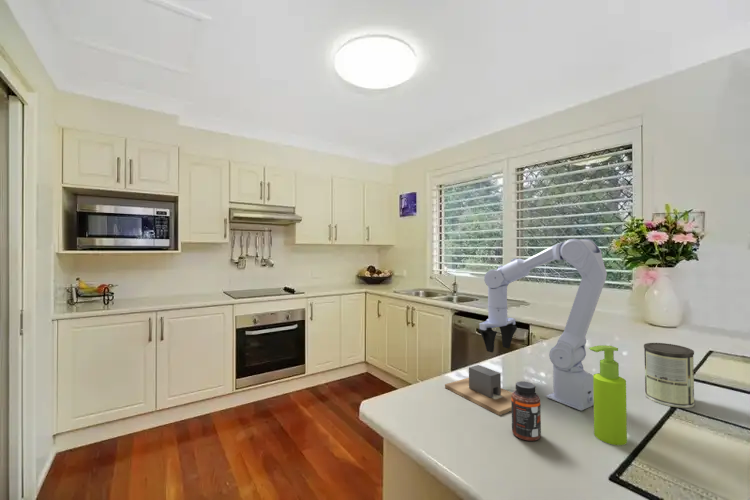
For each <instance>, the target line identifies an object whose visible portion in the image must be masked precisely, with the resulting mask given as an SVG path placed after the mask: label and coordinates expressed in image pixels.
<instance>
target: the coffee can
mask: <svg viewBox="0 0 750 500" xmlns="http://www.w3.org/2000/svg"><path fill="white" fill-rule="evenodd" d="M643 349H644V386H645V387H644V389H645V390H644V395H645V397H646V398H648V399H649V401H652V402H655V403H657V404H659V405H660V404H661V405H663V406H668V407H673V408H679V409H681V408H682V409H691V408H693V407H695V404H696V403H695V381H694V379H695V377H694V375H695V374H694V371H695V370H694V369H695V368H694V364H695V363H694V355H695V351H694V350H693V349H691V348H689V347H687V346H683V345H678V344H673V343H666V342H665V343H663V342H647V343H644V344H643Z"/></svg>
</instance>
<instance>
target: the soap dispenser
mask: <svg viewBox="0 0 750 500" xmlns="http://www.w3.org/2000/svg"><path fill="white" fill-rule="evenodd" d="M588 350H590V351H592V352H595V353H598V352H599V353H600V352H603V353H604V354H603V355H604V356H603V359H600V360H599V372H598V373H594V374H592V375H593V390H594V405H593V434H594V436H595V438H597V439H598V440H599V441H602V442H603V443H605V444H608V445H613V446H625V445H626V444H627V443H628V429H627V427H628V424H627V423H628V421H627V420H628V419H627V417H628V416H627V381H626V379H625V378H623V377H622V376H620V374H619V373H620V370H619V369H620V368H619V362H618V361H616V360H615V356H614V355H615V353H614V352H615V351H616V352H618V351H619V347H615V346H614V345H606V344H604V345H601V344H600V345H595V346H591V347H589V348H588Z"/></svg>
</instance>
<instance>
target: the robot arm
mask: <svg viewBox="0 0 750 500" xmlns="http://www.w3.org/2000/svg"><path fill="white" fill-rule="evenodd" d="M602 254H603V253H602V250H601V249H600V247H599V246H598V245H597V244H596V243H595V242H594V241H593V240H591V239H589V238H582V239H579V238H570V239H567V240H565V241H561V242H558V243H556V244H554V245H551V246H549V247H548V248H545V249H544V250H541V251H540V252H537V253H536V254H534V255H532V256H530V257H528V258H526V259H523V258H516V257H515V258H512V259H510V261H509V262H508V263H506V264H503V265H501V264H500V265H498V266H497V269H489V270H488V271H487V272H486V273H485V274H484V277H483V280H484V284H486V286H487V308H488V309H487V311H488V314H487V315H488V316H487V317H488V318H487V319H486V320H485V321H483V322H479V323H478V325H479V327H478V332H479V333H480V335H481V337H482V340H483V342H484V346H485V349H486V351H487V352H489V353H494V351H495V339H496V335H497V333H498V332H497V331H495V330H494V328H495V329H496V328H499V329H500V334H501V343H502V347H503V348H505V349H510V348H511V343H512V341H513V337H514V335H515V333H516V331H517V330H518V329H517V325H516V318H513V317H508V286H509V284H511V283H514V282H516V281H518V280H520V279H523V278H525V277H527V276H529V275H530V273H531V270H533V269H536V268H538V267H541V266H542V265H543V266H544V265H545V264H548V263H550V262H553V261H555V260H556V261H565V262H567V263H568V264H569V265H571V266H572V267H574V268H575V270H576V271H577V273H578V274H579V275H580V276H581V279H580V283H579V285H578V287H577V291H576V294H575V297H574V300H573V302H572V306H571V309H570V312H569V314H568V318H567V321H566V324H565V326H564V329H563V331H562V333H561V335H560V336H559V337H558V339H557V342H556V343H555V345H554V346H553V347H551V349H550V350H549V359H550V362H551V364H552V377H553V379H552V380H553V381H552V382H553V383H552V385H553V390H552V391H553V392H551V393H550V394H546V398H547V399H550V400H551V401H555V402H558V403H560V404H562V405H564V406H567V407H570V408H572V409H575V410H578V411H585V410H586V409H588V408H590V407H592V406H593V407H594V390H593V375H594V374H592V373H589V372H587V371H586V370H585V369H584V364H583V362H582V361H584V360H585V358H586V356H587V351H586V343H587V338H586V336H587V334H588V330H589V327H590V324H591V322H592V319H593V316H594V313H595V310H596V307H597V304H598V302H599V299H600V297H601V294H602V292H603V289H604V286H605V282H606V279H607V277H608V273H607V269H606V266H605V263H604V260H603V256H602Z"/></svg>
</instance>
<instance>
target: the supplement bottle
mask: <svg viewBox="0 0 750 500" xmlns="http://www.w3.org/2000/svg"><path fill="white" fill-rule="evenodd" d="M536 390H537V389H536V385H535V384H534V383H533V382H531V381H530V382H529V381H523V380H522V381H519V380H518V381H516V382H515V390H514V391H512V396H511V399H512V400H511V405H512V411H511V431H512V433H513V435H514V436H515V437H517V438H519V439H520V440H523V441H529V442H535V441H538V440H539V439H540V438H541V435H542V428H541V427H542V425H541V424H542V422H541V421H542V420H541V419H542V418H541V415H542V414H541V408H542V407H541V406H542V405H541V398H540V396H539V395H538V394H537V393H536Z"/></svg>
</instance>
